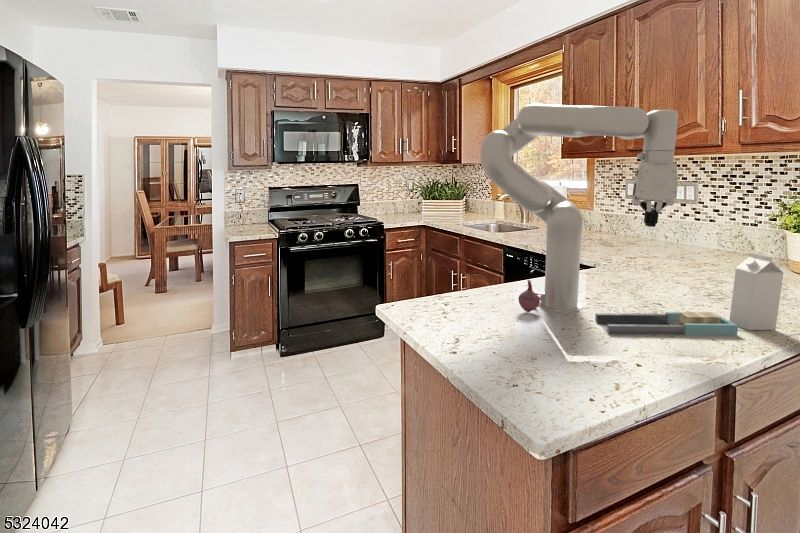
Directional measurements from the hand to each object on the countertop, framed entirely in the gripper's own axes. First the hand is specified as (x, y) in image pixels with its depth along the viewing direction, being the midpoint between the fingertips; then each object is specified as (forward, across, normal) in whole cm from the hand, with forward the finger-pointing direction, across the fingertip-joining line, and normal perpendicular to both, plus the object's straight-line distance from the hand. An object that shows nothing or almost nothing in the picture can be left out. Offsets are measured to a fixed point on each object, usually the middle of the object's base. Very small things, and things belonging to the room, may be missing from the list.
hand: (650, 226), depth 132 cm
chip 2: (+25, +11, -14) cm, 31 cm away
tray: (+25, +9, -14) cm, 30 cm away
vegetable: (+26, -31, -1) cm, 41 cm away
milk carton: (+25, +24, -9) cm, 36 cm away
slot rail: (+26, -6, -15) cm, 30 cm away
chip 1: (+25, +7, -15) cm, 30 cm away
